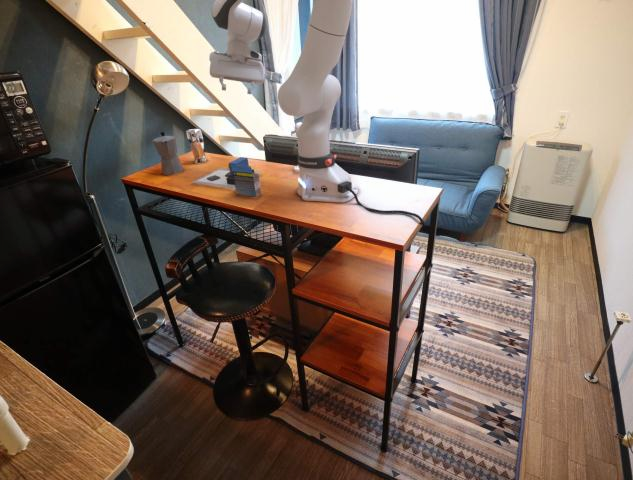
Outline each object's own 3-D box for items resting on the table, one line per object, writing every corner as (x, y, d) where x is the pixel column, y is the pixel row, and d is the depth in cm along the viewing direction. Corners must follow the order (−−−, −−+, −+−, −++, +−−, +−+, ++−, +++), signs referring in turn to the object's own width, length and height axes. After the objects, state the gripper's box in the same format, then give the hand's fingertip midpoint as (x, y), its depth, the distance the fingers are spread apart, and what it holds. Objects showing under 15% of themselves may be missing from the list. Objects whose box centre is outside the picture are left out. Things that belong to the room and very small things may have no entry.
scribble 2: (237, 173, 147) (237, 172, 146) (233, 176, 143) (233, 175, 143) (228, 173, 147) (228, 172, 147) (225, 176, 144) (224, 175, 144)
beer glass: (197, 159, 171) (189, 128, 163) (210, 159, 170) (203, 128, 162) (190, 164, 165) (182, 132, 157) (204, 164, 164) (197, 132, 156)
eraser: (254, 175, 144) (252, 156, 139) (237, 185, 134) (233, 165, 130) (245, 173, 146) (242, 155, 141) (227, 184, 136) (223, 164, 132)
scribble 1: (220, 178, 142) (220, 177, 142) (211, 181, 140) (211, 179, 140) (215, 176, 145) (215, 175, 145) (206, 179, 143) (206, 177, 142)
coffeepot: (186, 174, 153) (175, 132, 144) (164, 178, 149) (151, 136, 140) (181, 164, 165) (171, 126, 156) (160, 168, 161) (148, 129, 152)
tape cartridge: (262, 195, 127) (257, 162, 121) (256, 199, 124) (251, 166, 118) (242, 192, 131) (236, 160, 124) (236, 196, 128) (230, 164, 121)
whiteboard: (261, 175, 146) (260, 173, 145) (235, 191, 132) (234, 188, 132) (220, 170, 155) (220, 168, 154) (192, 184, 141) (191, 182, 141)
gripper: (209, 45, 124) (207, 83, 124) (266, 55, 129) (264, 92, 129) (210, 54, 130) (208, 91, 130) (264, 63, 135) (262, 98, 135)
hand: (236, 91), depth 130 cm, fingers open, 8 cm apart
